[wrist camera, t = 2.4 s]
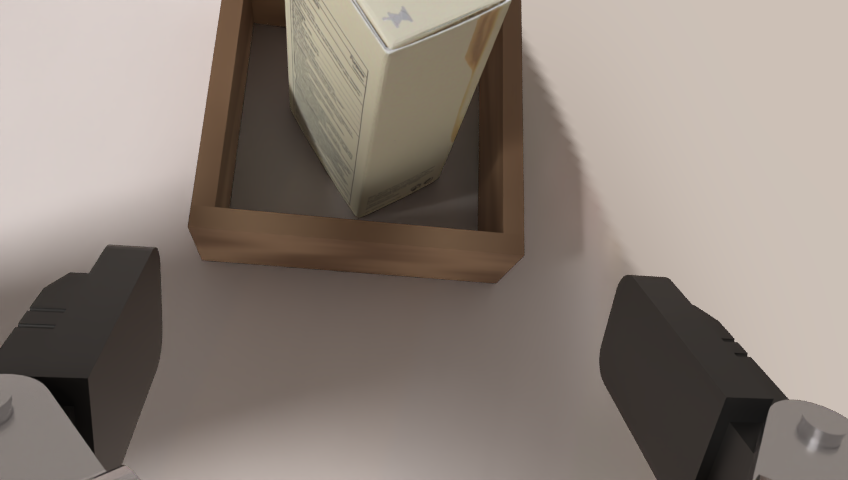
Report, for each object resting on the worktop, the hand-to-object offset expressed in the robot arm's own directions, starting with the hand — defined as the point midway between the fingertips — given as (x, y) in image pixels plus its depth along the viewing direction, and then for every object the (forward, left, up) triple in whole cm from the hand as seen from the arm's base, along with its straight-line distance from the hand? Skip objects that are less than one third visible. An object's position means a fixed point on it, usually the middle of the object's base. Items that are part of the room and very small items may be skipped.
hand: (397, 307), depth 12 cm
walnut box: (0, +11, -16) cm, 20 cm away
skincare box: (0, +11, -16) cm, 20 cm away
